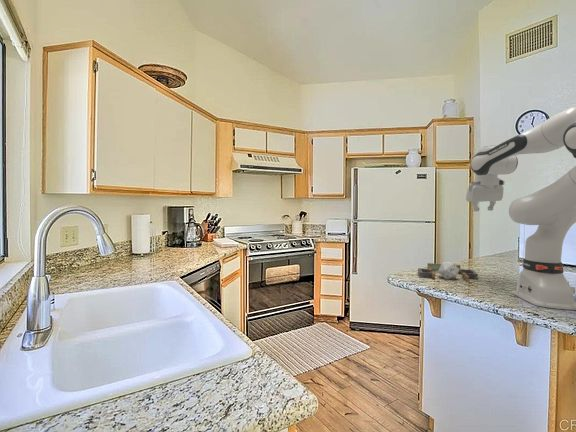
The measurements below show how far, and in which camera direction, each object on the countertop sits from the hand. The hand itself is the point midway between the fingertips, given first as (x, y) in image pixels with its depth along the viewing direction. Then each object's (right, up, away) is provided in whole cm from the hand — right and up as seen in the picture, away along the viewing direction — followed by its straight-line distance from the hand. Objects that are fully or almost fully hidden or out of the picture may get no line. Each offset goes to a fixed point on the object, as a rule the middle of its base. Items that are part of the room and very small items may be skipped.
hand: (483, 210), depth 150 cm
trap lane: (-14, -32, +6) cm, 36 cm away
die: (-16, -33, +1) cm, 36 cm away
